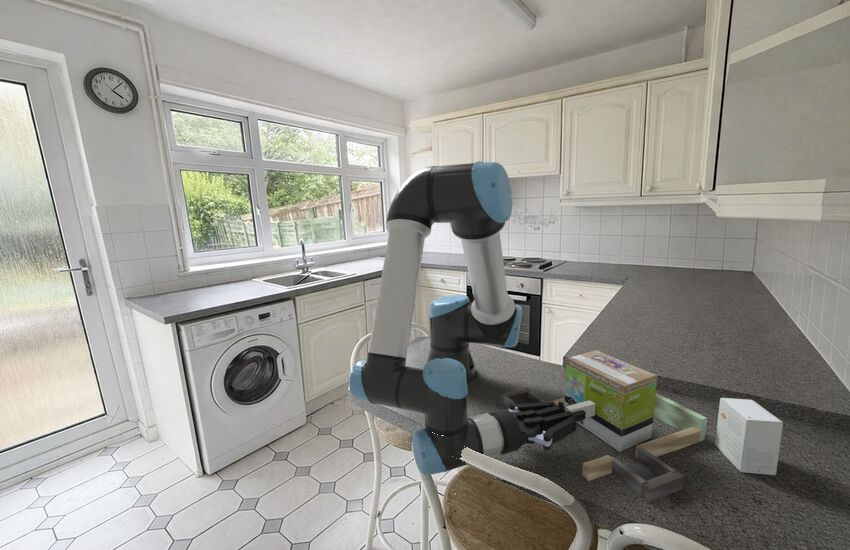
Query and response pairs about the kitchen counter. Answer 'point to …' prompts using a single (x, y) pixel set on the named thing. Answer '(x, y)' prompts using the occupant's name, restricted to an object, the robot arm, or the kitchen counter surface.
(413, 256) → the robot arm
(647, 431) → the tea box
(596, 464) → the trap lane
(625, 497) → the kitchen counter surface
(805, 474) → the kitchen counter surface
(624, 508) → the kitchen counter surface
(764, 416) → the small box
